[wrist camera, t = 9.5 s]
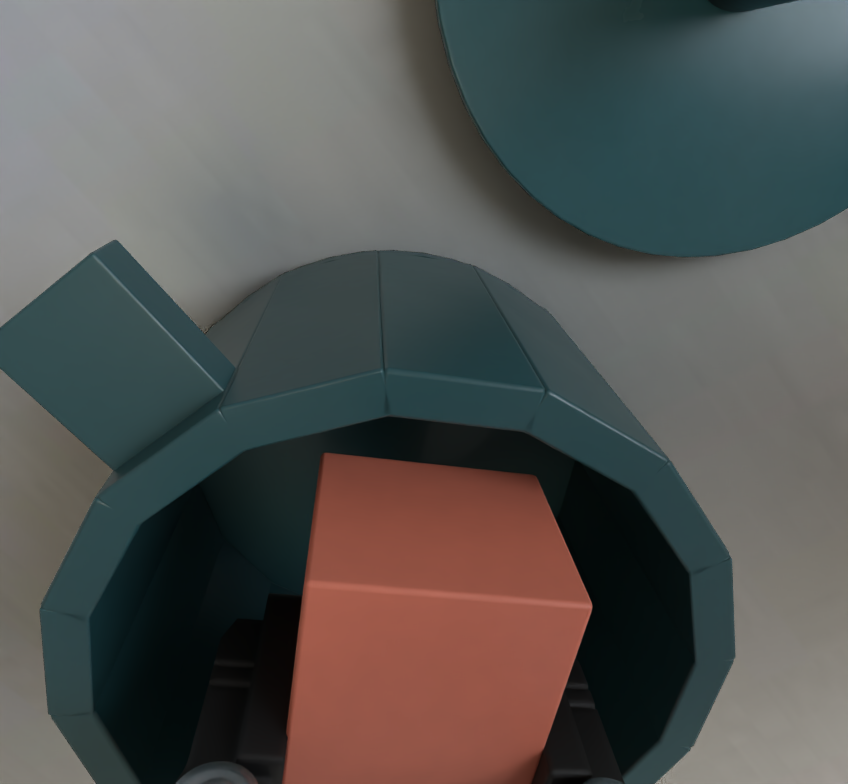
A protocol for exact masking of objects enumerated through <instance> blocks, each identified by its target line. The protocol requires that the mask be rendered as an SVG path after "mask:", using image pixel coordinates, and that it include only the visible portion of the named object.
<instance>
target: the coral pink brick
mask: <svg viewBox="0 0 848 784" xmlns="http://www.w3.org/2000/svg"><path fill="white" fill-rule="evenodd" d="M591 611H592V602H591V600H590V598H589V595H588V593H587V591H586V588H585V586H584V584H583V582H582V579H581V577H580V575H579V572H578V570H577V568H576V566H575V563H574V561H573V559H572V556H571V554H570V552H569V550H568V547H567V545H566V543H565V540H564V538H563V536H562V534H561V531H560V529H559V527H558V524H557V522H556V520H555V518H554V515H553V513H552V511H551V508H550V506H549V504H548V502H547V499H546V497H545V495H544V493H543V490H542V488H541V486H540V483H539V481H538V479H537V477H536V476H534V475H531V474H521V473H512V472H503V471H494V470H484V469H475V468H466V467H456V466H447V465H438V464H429V463H419V462H410V461H401V460H392V459H382V458H373V457H364V456H354V455H345V454H336V453H327V452H326V453H323V454H322V455H321V457H320V464H319V472H318V480H317V487H316V495H315V503H314V510H313V518H312V526H311V533H310V541H309V549H308V556H307V564H306V572H305V579H304V587H303V595H302V604H301V612H300V620H299V629H298V637H297V645H296V654H295V662H294V670H293V679H292V687H291V695H290V704H289V712H288V720H287V729H286V734H287V737H288V739H287V747H286V755H285V763H284V771H283V780H282V784H532V781H533V778H534V775H535V772H536V769H537V767H538V764H539V761H540V758H541V755H542V752H543V749H544V747H545V744H546V741H547V738H548V735H549V733H550V730H551V727H552V724H553V721H554V718H555V715H556V712H557V710H558V707H559V704H560V701H561V698H562V695H563V692H564V689H565V686H566V684H567V681H568V678H569V675H570V672H571V669H572V666H573V663H574V660H575V658H576V655H577V652H578V649H579V646H580V643H581V640H582V637H583V634H584V632H585V629H586V626H587V623H588V620H589V617H590V614H591Z"/></svg>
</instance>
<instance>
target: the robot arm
mask: <svg viewBox="0 0 848 784" xmlns="http://www.w3.org/2000/svg"><path fill="white" fill-rule="evenodd" d="M301 604H302V595H289V594H276V593H269V594H268V598H267V603H266V608H265V614H264V619H263V620H251V619H237V620H236V621H235V622H234V623H233V624H232V625H231V627H230V628H229V629H228V630H227V631H226V633H225V634H224V635H223V636H222V637H221V639H220V643H219V647H218V650H217V654H216V658H215V662H214V666H213V669H212V673H211V676H210V680H209V686H208V688H207V691H206V695H205V699H204V702H203V706H202V710H201V714H200V717H199V721H198V725H197V729H196V732H195V736H194V740H193V743H192V747H191V751H190V755H189V758H188V761H187V764H186V766H185V768H184V770H183V772H182V774H181V775H180V776H179V778H178V779H177V780H176V782H175V783H174V784H282V780H283V771H284V763H285V755H286V747H287V739H288V737H287V734H286V729H287V720H288V712H289V704H290V695H291V687H292V679H293V670H294V662H295V654H296V645H297V637H298V629H299V620H300V612H301ZM532 784H625V782H624V780H623V778H622V775H621V773H620V770H619V767H618V765H617V762H616V759H615V757H614V754H613V751H612V748H611V746H610V743H609V740H608V738H607V735H606V732H605V730H604V727H603V724H602V721H601V719H600V716H599V713H598V711H597V709H595V703H594V700H593V697H592V694H591V692H590V690H588V684H587V681H586V678H585V676H584V673H583V670H582V667H581V665H580V663H579V661H578V660H577V659H576V658H575V660H574V663H573V666H572V669H571V672H570V675H569V678H568V681H567V684H566V686H565V689H564V692H563V695H562V698H561V701H560V704H559V707H558V710H557V712H556V715H555V718H554V721H553V724H552V727H551V730H550V733H549V735H548V738H547V741H546V744H545V747H544V749H543V752H542V755H541V758H540V761H539V764H538V767H537V769H536V772H535V775H534V778H533V781H532Z"/></svg>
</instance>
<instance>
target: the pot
mask: <svg viewBox="0 0 848 784" xmlns="http://www.w3.org/2000/svg"><path fill="white" fill-rule="evenodd" d="M0 369H1V370H2V371H4V372H5V373H6V374H7V375H8V376H9V377H10V378H11V379H12V380H14V381H15V382H16V383H17V384H18V385H19V386H20V387H21V388H22V389H24V390H25V391H26V392H27V393H28V394H29V395H30V396H31V397H32V398H34V399H35V400H36V401H37V402H38V403H39V404H40V405H41V406H42V407H43V408H45V409H46V410H47V411H48V412H49V413H50V414H51V415H52V416H53V417H55V418H56V419H57V420H58V421H59V422H60V423H61V424H62V425H63V426H65V427H66V428H67V429H68V430H69V431H70V432H71V433H72V434H73V435H75V436H76V437H77V438H78V439H79V440H80V441H81V442H82V443H83V444H85V445H86V446H87V447H88V448H89V449H90V450H91V451H92V452H93V453H95V454H96V455H97V456H98V457H99V458H100V459H101V460H102V461H103V462H105V463H106V464H107V465H108V466H109V467H110V468H111V469H112V470H113V472H112V473H111V475H110V476H109V478H108V479H107V481H106V482H105V483H104V485H103V486H102V488H101V489H100V491H99V492H98V494H97V495H96V497H95V498H94V500H93V502H92V504H91V506H90V508H89V510H88V512H87V514H86V516H85V518H84V520H83V522H82V524H81V526H80V528H79V530H78V532H77V534H76V536H75V538H74V540H73V542H72V544H71V546H70V547H69V549H68V551H67V553H66V555H65V557H64V559H63V561H62V563H61V565H60V567H59V569H58V571H57V573H56V575H55V577H54V579H53V581H52V583H51V585H50V587H49V589H48V591H47V593H46V595H45V597H44V599H43V601H42V603H41V608H40V622H41V634H42V646H43V658H44V670H45V682H46V694H47V706H48V714H49V715H51V718H52V720H53V721H54V723H55V724H56V725H57V727H58V728H59V730H60V731H61V733H62V734H63V736H64V737H65V739H66V740H67V742H68V743H69V745H70V746H71V748H72V749H73V750H74V752H75V753H76V755H77V756H78V758H79V759H80V761H81V762H82V764H83V765H84V767H85V768H86V770H87V771H88V773H89V774H90V775H91V777H92V778H93V780H94V781H95V783H96V784H174V783H175V782H176V780H177V779H178V778H179V776H180V775H181V774H182V772H183V770H184V768H185V766H186V764H187V761H188V758H189V755H190V751H191V747H192V743H193V740H194V736H195V732H196V729H197V725H198V721H199V717H200V714H201V710H202V706H203V702H204V699H205V695H206V691H207V688H208V686H209V680H210V676H211V673H212V669H213V666H214V662H215V658H216V654H217V650H218V647H219V643H220V639H221V637H222V636H223V635H224V634H225V633H226V631H227V630H228V629H229V628H230V627H231V625H232V624H233V623H234V622H235V621H236V620H237V619H251V620H263V619H264V614H265V608H266V603H267V598H268V594H269V593H276V594H289V595H303V587H304V579H305V572H306V564H307V556H308V549H309V541H310V533H311V526H312V518H313V510H314V503H315V495H316V487H317V480H318V472H319V464H320V457H321V455H322V454H323V453H326V452H327V453H336V454H345V455H354V456H364V457H373V458H382V459H392V460H401V461H410V462H419V463H429V464H438V465H447V466H456V467H466V468H475V469H484V470H494V471H503V472H512V473H521V474H531V475H534V476H536V477H537V479H538V481H539V483H540V486H541V488H542V490H543V493H544V495H545V497H546V499H547V502H548V504H549V506H550V508H551V511H552V513H553V515H554V518H555V520H556V522H557V524H558V527H559V529H560V531H561V534H562V536H563V538H564V540H565V543H566V545H567V547H568V550H569V552H570V554H571V556H572V559H573V561H574V563H575V566H576V568H577V570H578V572H579V575H580V577H581V579H582V582H583V584H584V586H585V588H586V591H587V593H588V595H589V598H590V600H591V602H592V611H591V614H590V617H589V620H588V623H587V626H586V629H585V632H584V634H583V637H582V640H581V643H580V646H579V649H578V652H577V655H576V659H577V660H578V661H579V663H580V665H581V667H582V670H583V673H584V676H585V678H586V681H587V684H588V690H590V692H591V694H592V697H593V700H594V703H595V709H597V711H598V713H599V716H600V719H601V721H602V724H603V727H604V730H605V732H606V735H607V738H608V740H609V743H610V746H611V748H612V751H613V754H614V757H615V759H616V762H617V765H618V767H619V770H620V773H621V775H622V778H623V780H624V782H625V784H655V783H656V782H657V781H658V780H659V779H660V778H661V777H662V776H663V775H664V774H665V773H666V772H668V771H669V770H670V769H671V768H672V767H673V766H674V765H675V764H676V763H677V762H678V761H679V760H680V759H681V758H682V757H683V756H685V755H686V754H687V753H688V752H689V751H690V749H691V748H690V747H692V746H694V744H695V741H696V739H697V737H698V735H699V733H700V731H701V729H702V727H703V725H704V723H705V720H706V718H707V716H708V714H709V712H710V710H711V708H712V706H713V704H714V702H715V699H716V697H717V695H718V693H719V691H720V689H721V687H722V685H723V683H724V681H725V678H726V676H727V674H728V672H729V670H730V668H731V666H732V664H733V660H734V658H735V630H734V601H733V573H732V558H731V557H730V555H729V551H728V550H727V548H726V547H725V545H724V544H723V542H722V540H721V539H720V537H719V536H718V534H717V533H716V531H715V529H714V528H713V526H712V525H711V523H710V522H709V520H708V518H707V517H706V515H705V514H704V512H703V511H702V509H701V508H700V506H699V504H698V503H697V501H696V500H695V498H694V497H693V495H692V493H691V492H690V490H689V489H688V487H687V486H686V484H685V482H684V481H683V479H682V478H681V476H680V475H679V473H678V471H677V470H676V468H675V467H674V465H673V464H672V462H671V461H670V459H669V458H668V457H667V456H666V455H665V453H664V452H663V451H662V450H661V448H660V447H659V446H658V445H657V443H656V442H655V441H654V440H653V439H652V437H651V436H650V435H649V434H648V432H647V431H646V430H645V429H644V428H643V426H642V425H641V424H640V423H639V421H638V420H637V419H636V418H635V417H634V415H633V414H632V413H631V412H630V410H629V409H628V408H627V407H626V406H625V404H624V403H623V402H622V401H621V399H620V398H619V397H618V396H617V394H616V393H615V392H614V391H613V390H612V388H611V387H610V386H609V385H608V383H607V382H606V381H605V380H604V379H603V377H602V376H601V375H600V374H599V372H598V371H597V370H596V369H595V368H594V366H593V365H592V364H591V363H590V361H589V360H588V359H587V358H586V357H585V355H584V354H583V353H582V352H581V350H580V349H579V348H578V347H577V345H576V344H575V343H574V342H573V341H572V339H571V338H570V337H569V336H568V334H567V333H566V332H565V331H564V330H563V328H562V327H561V326H560V325H559V323H558V322H557V321H556V320H555V319H554V317H553V316H552V315H551V314H550V313H549V312H548V311H547V310H546V309H544V308H542V307H541V306H539V305H537V304H536V303H534V302H533V301H532V300H530V299H529V298H528V297H526V296H525V295H523V294H522V293H521V292H519V291H518V290H516V289H515V288H514V287H512V286H511V285H510V284H508V283H506V282H504V281H502V280H501V279H499V278H497V277H495V276H493V275H491V274H489V273H487V272H485V271H484V270H481V269H479V268H478V267H476V266H472V265H470V264H465V263H462V262H459V261H457V260H454V259H449V258H445V257H440V256H436V255H431V254H427V253H418V252H407V251H395V250H390V251H376V250H375V251H367V252H358V253H352V254H346V255H341V256H335V257H330V258H327V259H324V260H321V261H317V262H314V263H311V264H308V265H305V266H302V267H299V268H297V269H295V270H293V271H290V272H286V273H284V274H283V275H280V276H278V277H277V278H276V279H274V280H272V281H271V282H269V283H268V284H266V285H265V286H263V287H262V288H260V289H259V290H257V291H256V292H254V293H252V294H251V295H249V296H248V297H247V298H246V299H245V300H243V301H242V302H241V303H240V304H239V305H238V306H237V307H235V308H234V309H233V310H232V311H231V312H230V313H229V314H227V315H226V316H225V317H224V318H223V319H221V320H220V321H219V322H218V323H216V324H215V325H214V326H212V327H211V328H210V329H209V331H207V333H206V334H204V333H203V332H202V331H201V330H200V329H199V328H198V327H197V326H196V325H195V323H194V322H193V321H192V320H191V319H190V318H189V317H188V316H187V315H186V314H185V313H184V312H183V311H182V309H181V308H180V307H179V306H178V305H177V304H176V303H175V302H174V301H173V300H172V299H171V298H170V296H169V295H168V294H167V293H166V292H165V291H164V290H163V289H162V288H161V287H160V286H159V285H158V284H157V282H156V281H155V280H154V279H153V278H152V277H151V276H150V275H149V274H148V273H147V272H146V271H145V270H144V268H143V267H142V266H141V265H140V264H139V263H138V262H137V261H136V260H135V259H134V258H133V257H132V256H131V254H130V253H129V252H128V251H127V250H126V249H125V248H124V247H123V246H122V245H121V244H120V243H119V242H118V241H117V240H113V241H111V242H109V243H108V244H106V245H104V246H102V247H101V248H99V249H97V250H96V251H94V252H92V253H90V254H89V255H88V256H87V257H86V258H84V259H83V260H82V261H81V262H79V263H78V264H77V265H76V266H75V267H73V268H72V269H71V270H70V271H69V272H67V273H66V274H65V275H64V276H62V277H61V278H60V279H59V280H58V281H56V282H55V283H54V284H53V285H51V286H50V287H49V288H48V289H47V290H45V291H44V292H43V293H42V294H40V295H39V296H38V297H37V298H36V299H34V300H33V301H32V302H31V303H30V304H28V305H27V306H26V307H25V308H23V309H22V310H21V311H20V312H19V313H17V314H16V315H15V316H14V317H12V318H11V319H10V320H9V321H8V322H6V323H5V324H4V325H3V326H2V327H0Z"/></svg>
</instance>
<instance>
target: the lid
mask: <svg viewBox="0 0 848 784" xmlns="http://www.w3.org/2000/svg"><path fill="white" fill-rule="evenodd" d="M435 5H436V12H437V20H438V26H439V29H440V33H441V37H442V41H443V45H444V49H445V53H446V57H447V61H448V65H449V68H450V71H451V73H452V76H453V78H454V81H455V84H456V86H457V89H458V91H459V94H460V97H461V99H462V102H463V104H464V106H465V108H466V110H467V112H468V114H469V116H470V117H471V119H472V121H473V123H474V125H475V127H476V129H477V130H478V132H479V134H480V136H481V138H482V140H483V141H484V142H485V144H486V145H487V146H488V148H489V149H490V151H491V152H492V153H493V155H494V156H495V158H496V159H497V160H498V162H499V163H500V164H501V166H502V167H503V169H504V170H505V171H506V172H507V173H508V174H509V175H510V176H511V177H512V178H513V179H514V180H515V181H516V182H517V183H518V184H519V185H520V186H521V188H522V189H523V190H524V191H525V192H526V193H527V194H528V195H529V196H531V197H532V198H533V199H535V200H536V201H537V202H538V203H540V204H541V205H542V206H543V207H545V208H546V209H547V210H549V211H550V212H551V213H552V214H554V215H555V216H556V217H558V218H559V219H561V220H563V221H565V222H566V223H568V224H570V225H572V226H573V227H575V228H577V229H579V230H580V231H582V232H584V233H586V234H587V235H590V236H592V237H595V238H597V239H600V240H602V241H605V242H607V243H610V244H612V245H615V246H618V247H621V248H625V249H630V250H634V251H638V252H642V253H647V254H651V255H662V256H673V257H704V256H719V255H725V254H731V253H736V252H742V251H748V250H752V249H756V248H759V247H762V246H765V245H769V244H772V243H775V242H778V241H782V240H785V239H787V238H790V237H792V236H794V235H796V234H799V233H801V232H803V231H806V230H808V229H810V228H812V227H815V226H817V225H819V224H821V223H823V222H825V221H826V220H828V219H830V218H831V217H833V216H835V215H837V214H838V213H840V212H842V211H844V210H845V209H847V208H848V0H435Z"/></svg>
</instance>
